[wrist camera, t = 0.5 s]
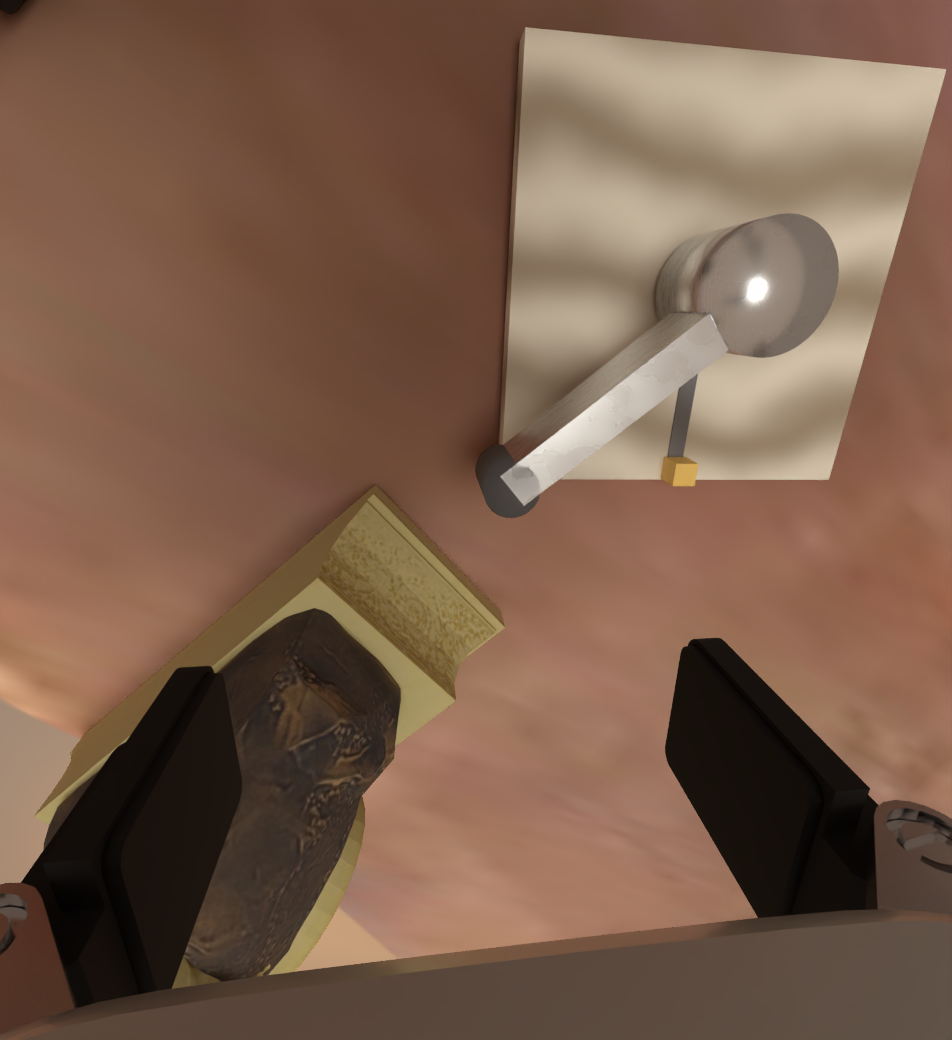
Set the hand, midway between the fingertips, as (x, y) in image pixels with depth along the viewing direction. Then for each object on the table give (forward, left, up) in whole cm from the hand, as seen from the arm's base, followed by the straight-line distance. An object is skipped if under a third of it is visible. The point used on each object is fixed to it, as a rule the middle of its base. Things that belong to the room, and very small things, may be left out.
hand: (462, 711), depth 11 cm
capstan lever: (-5, +10, -22) cm, 25 cm away
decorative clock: (+17, -10, -24) cm, 31 cm away
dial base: (-9, +15, -24) cm, 30 cm away
